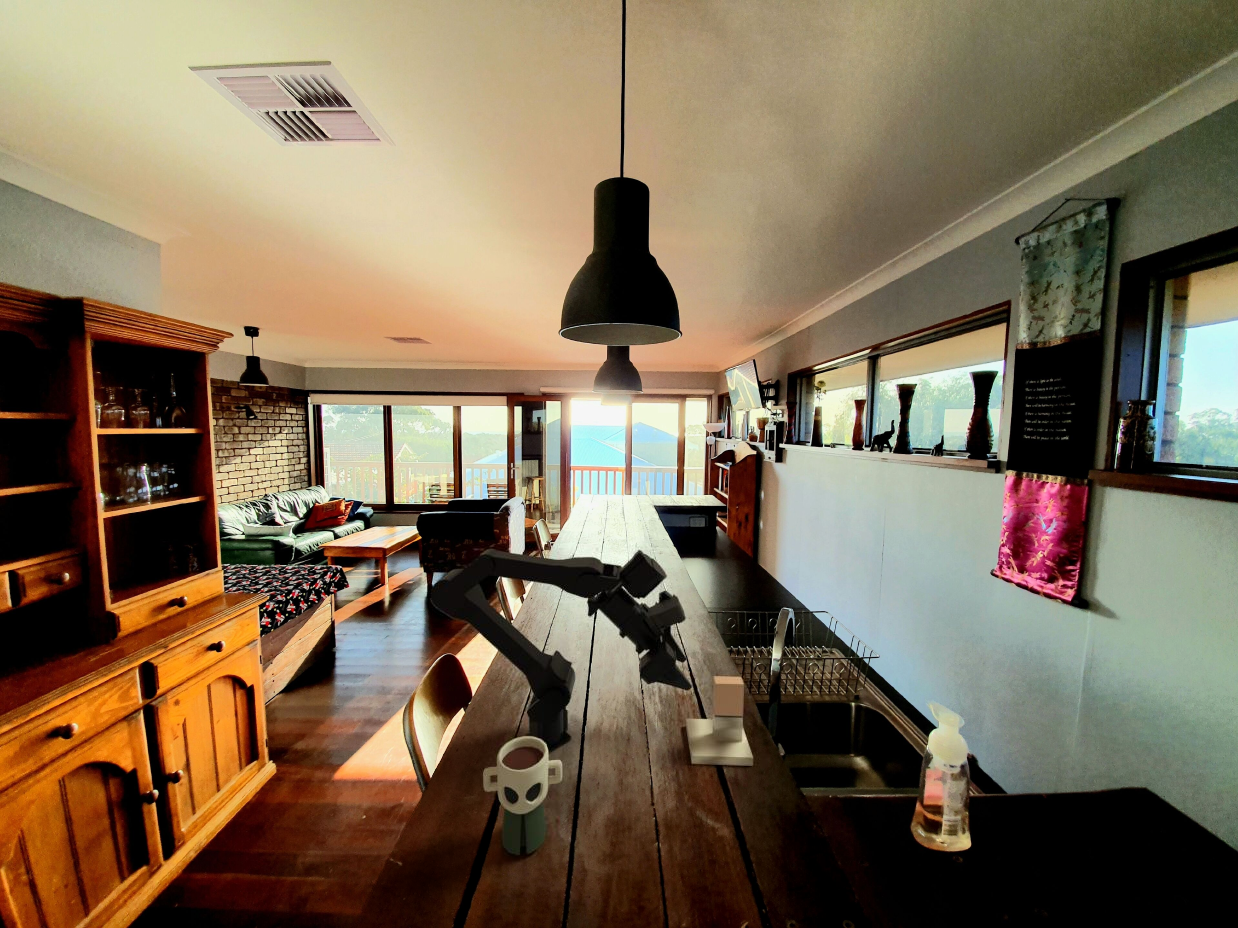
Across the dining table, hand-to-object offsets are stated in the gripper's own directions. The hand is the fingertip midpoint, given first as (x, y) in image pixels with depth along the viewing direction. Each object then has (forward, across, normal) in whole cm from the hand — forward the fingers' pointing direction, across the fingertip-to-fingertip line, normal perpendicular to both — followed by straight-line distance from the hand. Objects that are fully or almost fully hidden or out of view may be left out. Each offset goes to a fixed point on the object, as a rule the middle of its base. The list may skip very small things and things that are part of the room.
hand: (687, 673), depth 83 cm
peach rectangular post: (+10, 0, 0) cm, 10 cm away
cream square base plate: (+14, 0, +6) cm, 15 cm away
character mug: (-8, -20, +27) cm, 35 cm away
